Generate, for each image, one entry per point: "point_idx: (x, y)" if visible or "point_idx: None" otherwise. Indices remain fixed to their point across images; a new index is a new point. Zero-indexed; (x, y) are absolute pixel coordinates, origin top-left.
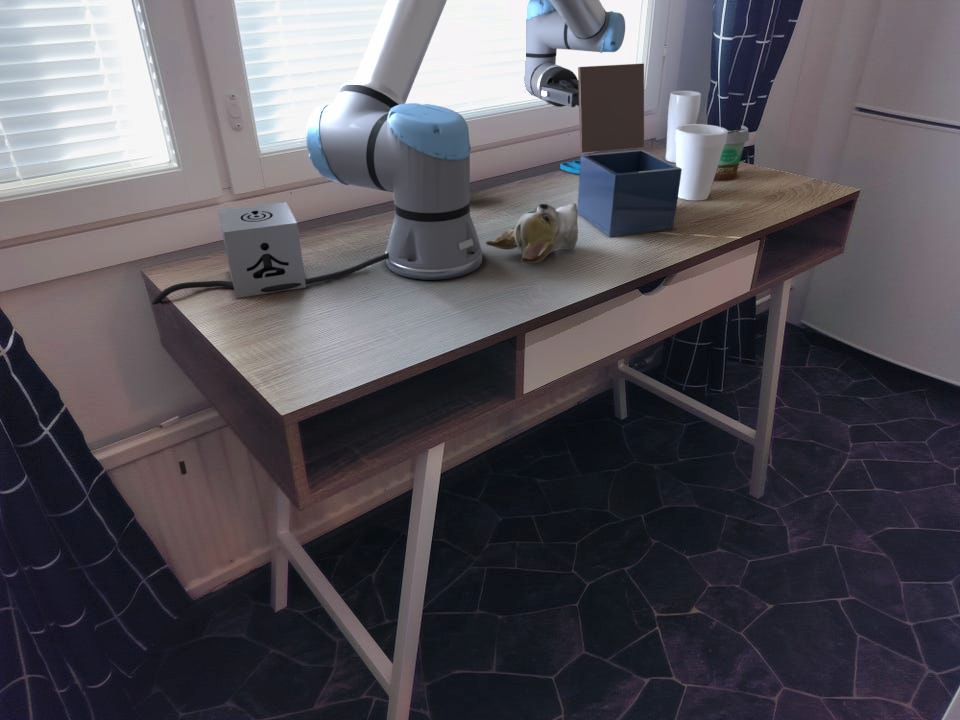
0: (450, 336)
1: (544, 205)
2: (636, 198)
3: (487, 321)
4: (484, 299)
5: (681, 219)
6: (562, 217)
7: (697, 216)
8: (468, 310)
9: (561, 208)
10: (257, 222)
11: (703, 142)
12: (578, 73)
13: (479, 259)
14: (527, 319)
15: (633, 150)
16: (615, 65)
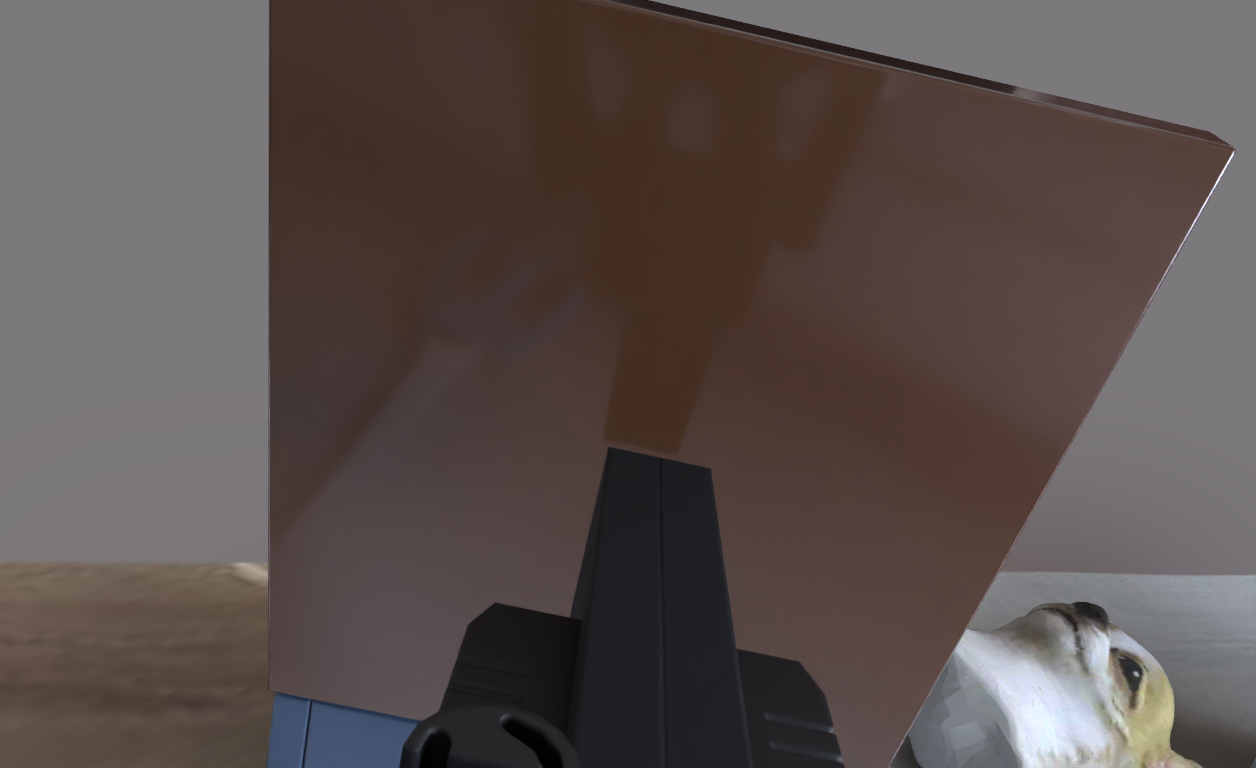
0: (1208, 597)
1: (1087, 602)
2: None
3: (1143, 599)
4: (1171, 655)
5: (229, 755)
6: (992, 633)
7: (112, 744)
8: (1199, 639)
9: (996, 659)
10: None
11: None
12: (1192, 218)
13: (1253, 764)
14: (1056, 573)
15: (366, 711)
16: (716, 22)
